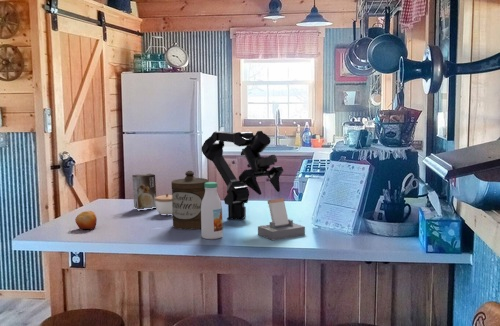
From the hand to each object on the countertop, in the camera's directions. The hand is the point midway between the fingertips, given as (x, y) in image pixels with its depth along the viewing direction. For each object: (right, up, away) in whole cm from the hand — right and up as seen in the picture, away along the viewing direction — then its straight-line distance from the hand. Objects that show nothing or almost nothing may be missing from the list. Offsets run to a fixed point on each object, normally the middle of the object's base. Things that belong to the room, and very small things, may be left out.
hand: (269, 192), depth 207 cm
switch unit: (+4, -15, -10) cm, 18 cm away
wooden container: (-31, -14, +7) cm, 35 cm away
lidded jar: (-44, -11, +29) cm, 54 cm away
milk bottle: (-21, -16, -12) cm, 29 cm away
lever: (+4, -12, -10) cm, 16 cm away
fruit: (-72, -15, +5) cm, 74 cm away
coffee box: (-56, -10, +42) cm, 71 cm away
